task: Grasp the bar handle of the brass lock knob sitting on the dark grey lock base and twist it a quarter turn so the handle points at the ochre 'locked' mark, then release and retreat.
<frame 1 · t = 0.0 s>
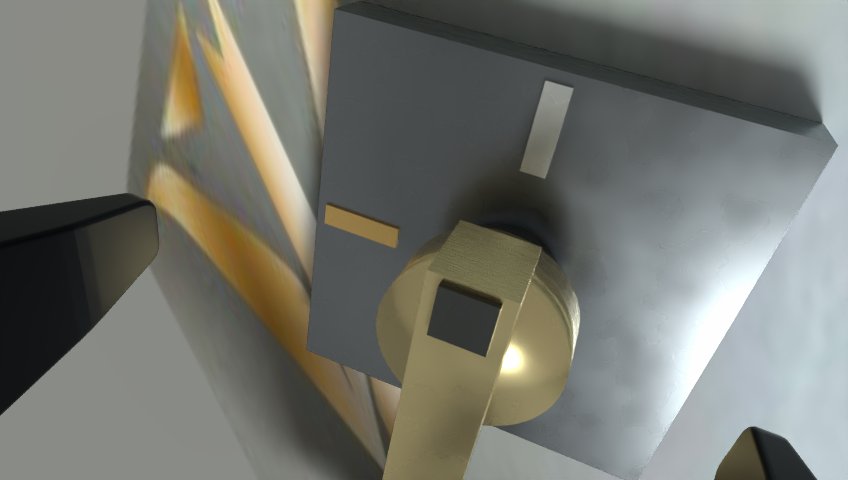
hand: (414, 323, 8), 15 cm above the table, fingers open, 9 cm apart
brass lock knob: (464, 355, 19), point 7 cm above the table, hinge at 0.0°
lock base: (513, 249, 24), on the table
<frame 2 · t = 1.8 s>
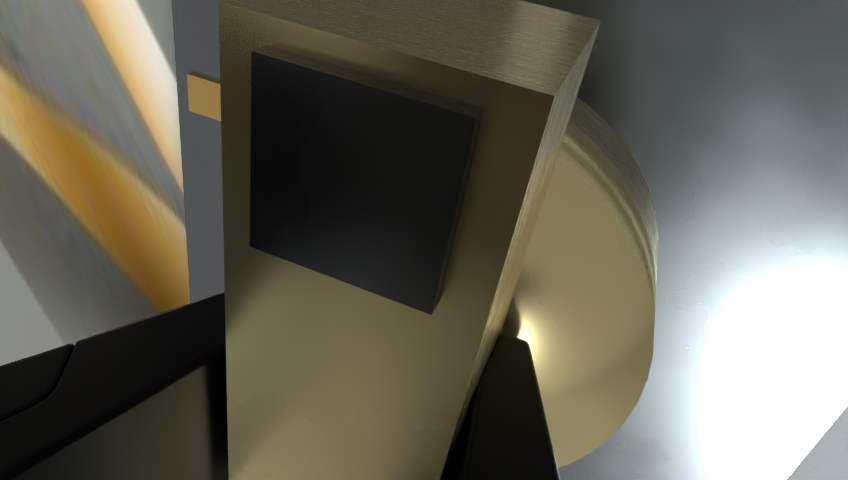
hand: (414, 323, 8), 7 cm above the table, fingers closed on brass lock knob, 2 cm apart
brass lock knob: (409, 330, 8), point 7 cm above the table, hinge at 0.0°, touching gripper
lock base: (517, 156, 14), on the table
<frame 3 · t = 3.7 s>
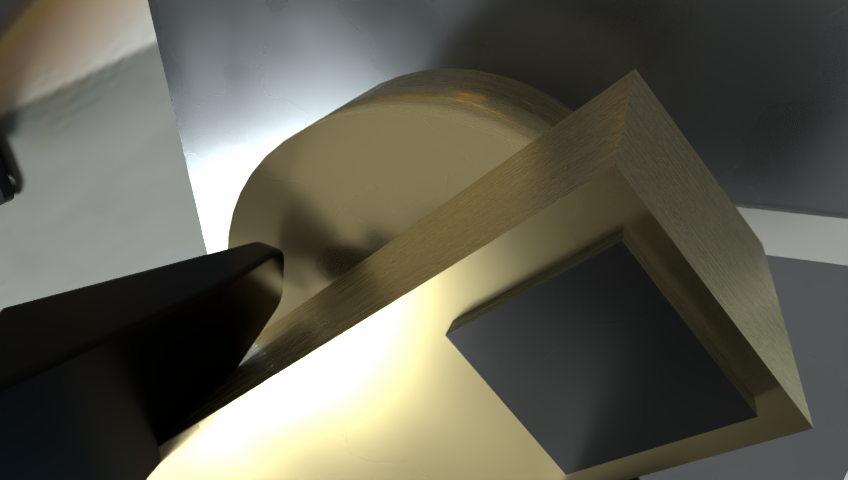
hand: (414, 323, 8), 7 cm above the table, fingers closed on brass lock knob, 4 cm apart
brass lock knob: (404, 336, 9), point 7 cm above the table, hinge at 40.9°, touching gripper
lock base: (511, 164, 14), on the table
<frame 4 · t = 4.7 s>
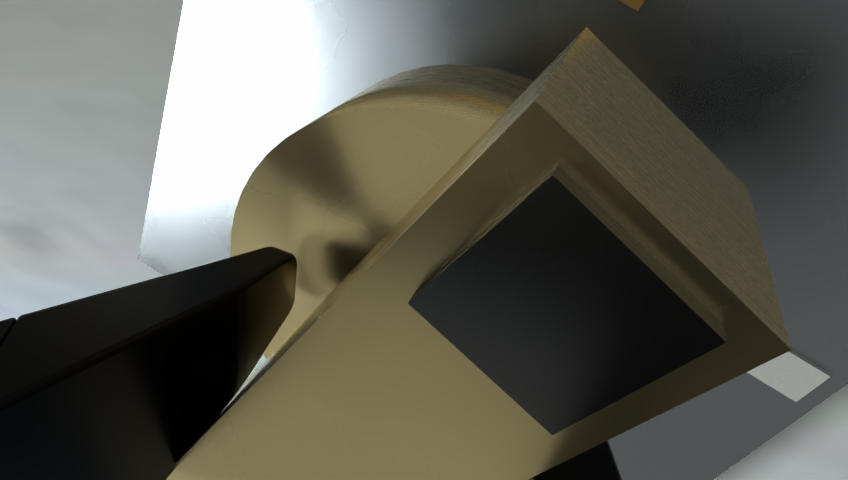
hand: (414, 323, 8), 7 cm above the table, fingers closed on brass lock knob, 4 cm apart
brass lock knob: (408, 332, 8), point 7 cm above the table, hinge at 76.2°, touching gripper
lock base: (514, 160, 14), on the table
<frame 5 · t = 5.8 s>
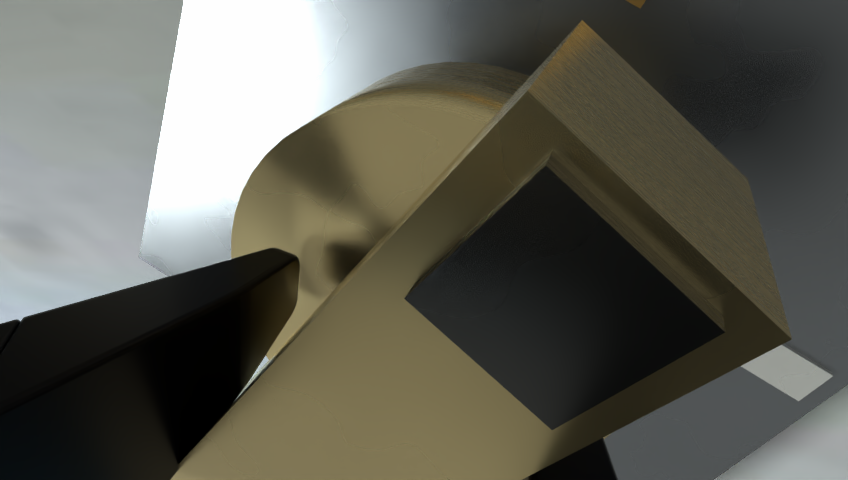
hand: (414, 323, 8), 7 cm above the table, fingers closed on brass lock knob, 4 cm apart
brass lock knob: (410, 331, 8), point 7 cm above the table, hinge at 77.2°, touching gripper
lock base: (515, 159, 14), on the table
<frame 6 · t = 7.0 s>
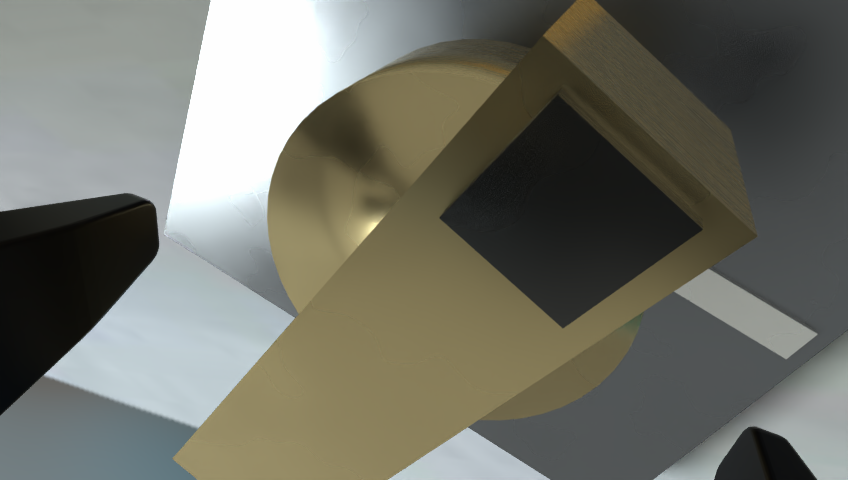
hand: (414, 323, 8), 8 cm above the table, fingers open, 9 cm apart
brass lock knob: (431, 280, 9), point 7 cm above the table, hinge at 77.7°
lock base: (522, 137, 15), on the table
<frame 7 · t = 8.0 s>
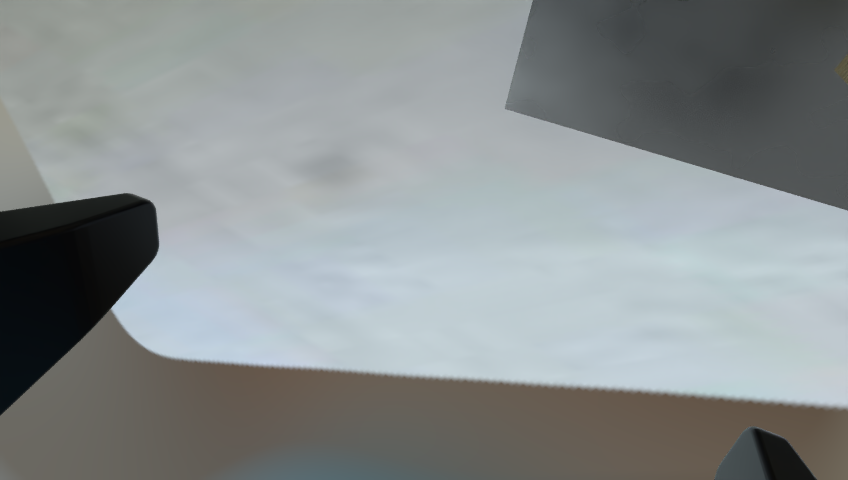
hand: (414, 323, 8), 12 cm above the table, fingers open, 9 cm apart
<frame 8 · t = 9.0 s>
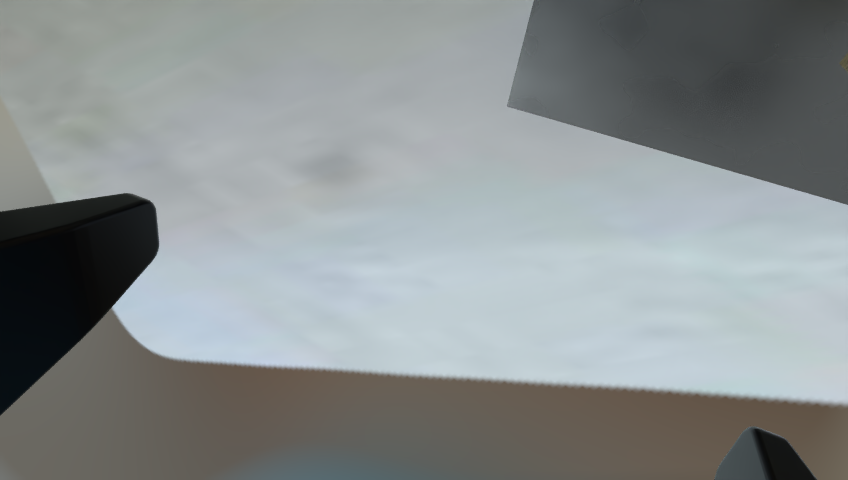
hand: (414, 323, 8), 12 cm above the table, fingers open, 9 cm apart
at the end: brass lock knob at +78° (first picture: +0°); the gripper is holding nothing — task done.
